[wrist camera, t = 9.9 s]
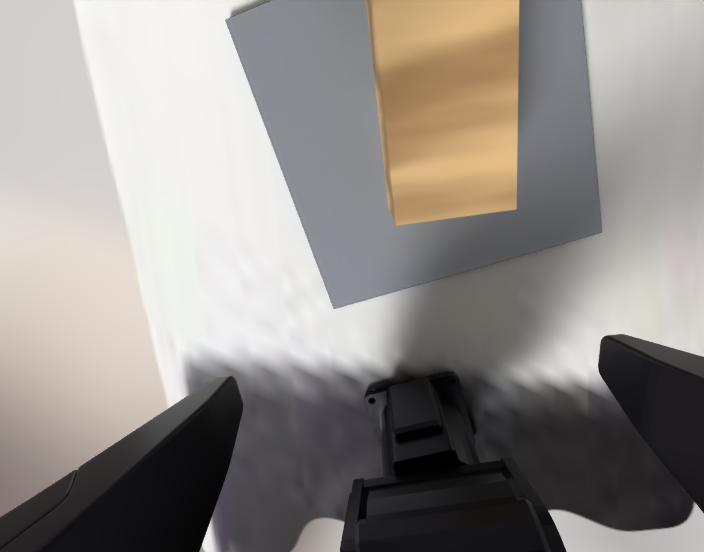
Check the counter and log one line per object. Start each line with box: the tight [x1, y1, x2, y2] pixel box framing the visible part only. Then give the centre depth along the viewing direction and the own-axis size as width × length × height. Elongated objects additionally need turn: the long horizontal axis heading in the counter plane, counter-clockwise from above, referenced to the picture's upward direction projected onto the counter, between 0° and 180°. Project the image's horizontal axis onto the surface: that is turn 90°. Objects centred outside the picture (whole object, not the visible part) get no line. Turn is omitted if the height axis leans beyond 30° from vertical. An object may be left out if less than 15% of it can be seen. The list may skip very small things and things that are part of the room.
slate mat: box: [225, 0, 602, 309], centre depth 19 cm, size 16×16×1 cm
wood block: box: [366, 0, 519, 226], centre depth 15 cm, size 5×5×13 cm
